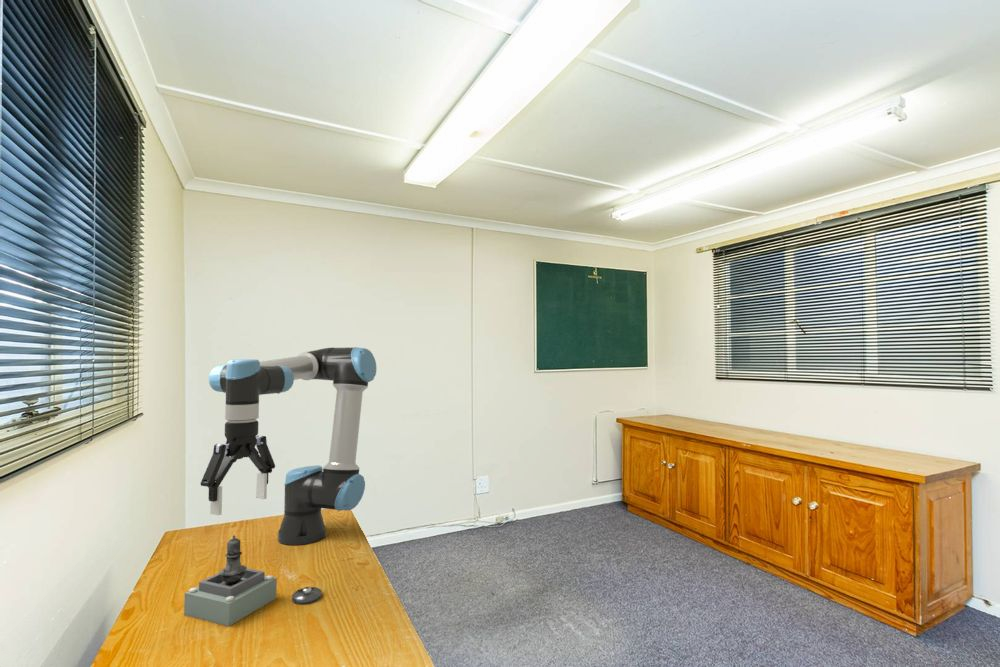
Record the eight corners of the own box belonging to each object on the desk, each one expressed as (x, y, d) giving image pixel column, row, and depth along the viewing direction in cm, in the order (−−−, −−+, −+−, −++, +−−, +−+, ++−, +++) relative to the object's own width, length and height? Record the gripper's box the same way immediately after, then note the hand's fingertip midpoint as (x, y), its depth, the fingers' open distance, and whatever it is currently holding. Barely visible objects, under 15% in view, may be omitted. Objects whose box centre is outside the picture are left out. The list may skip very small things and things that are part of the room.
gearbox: (227, 587, 130) (228, 560, 130) (276, 598, 124) (277, 569, 125) (176, 612, 117) (177, 582, 117) (228, 626, 111) (229, 594, 111)
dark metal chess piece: (234, 591, 117) (236, 540, 117) (213, 589, 118) (214, 538, 119) (251, 580, 123) (252, 531, 123) (230, 578, 124) (232, 530, 124)
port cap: (305, 589, 129) (305, 580, 129) (327, 593, 127) (327, 585, 127) (285, 601, 123) (285, 592, 123) (308, 606, 120) (308, 597, 120)
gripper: (268, 414, 137) (267, 491, 136) (184, 426, 113) (181, 519, 113) (290, 415, 134) (288, 493, 134) (208, 428, 111) (206, 523, 110)
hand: (239, 505), depth 123 cm, fingers open, 13 cm apart
